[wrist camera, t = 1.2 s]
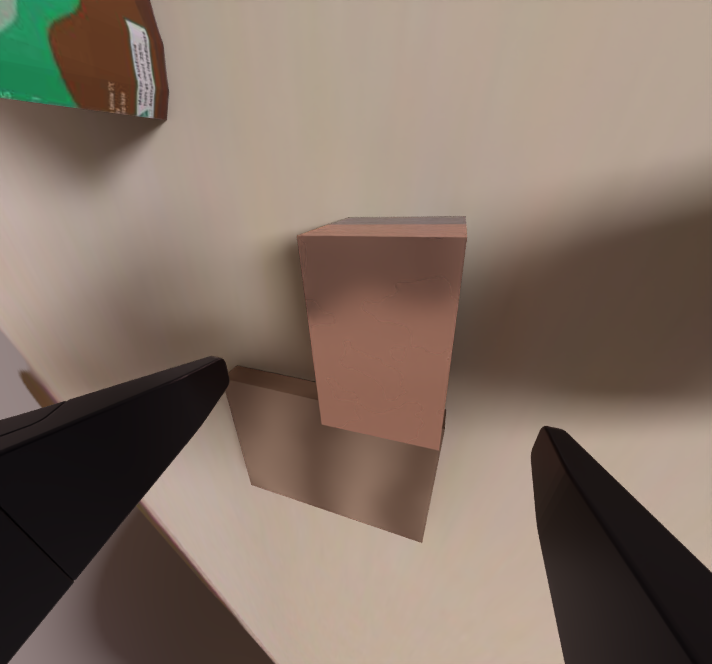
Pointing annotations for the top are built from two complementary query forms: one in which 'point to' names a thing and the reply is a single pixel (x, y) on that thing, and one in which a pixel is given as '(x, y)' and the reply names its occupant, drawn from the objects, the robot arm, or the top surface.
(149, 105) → the food container
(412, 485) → the walnut stand
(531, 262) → the top surface
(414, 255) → the block
